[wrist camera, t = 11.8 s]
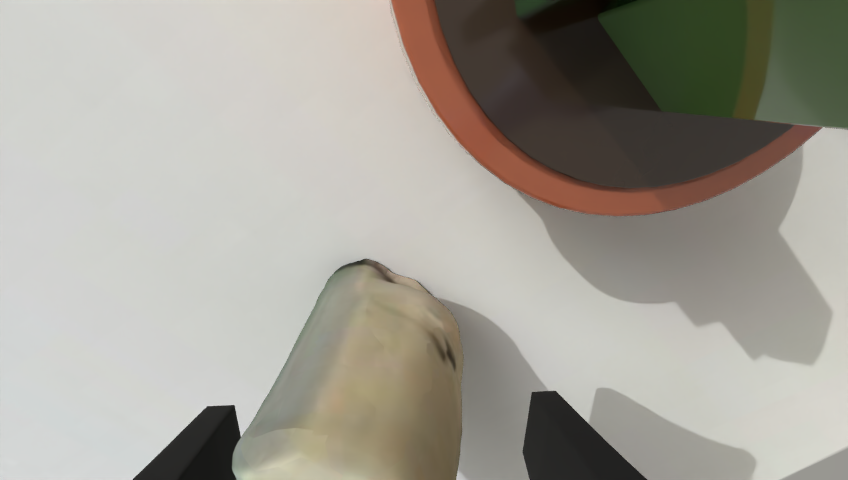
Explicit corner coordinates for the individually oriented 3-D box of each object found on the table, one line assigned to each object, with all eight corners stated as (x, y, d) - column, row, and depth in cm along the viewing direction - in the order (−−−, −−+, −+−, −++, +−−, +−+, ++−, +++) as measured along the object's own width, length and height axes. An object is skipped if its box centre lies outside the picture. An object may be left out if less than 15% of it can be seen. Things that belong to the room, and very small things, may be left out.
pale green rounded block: (274, 335, 14) (152, 596, 7) (339, 220, 13) (272, 395, 6) (407, 391, 16) (422, 655, 9) (478, 293, 15) (570, 508, 7)
